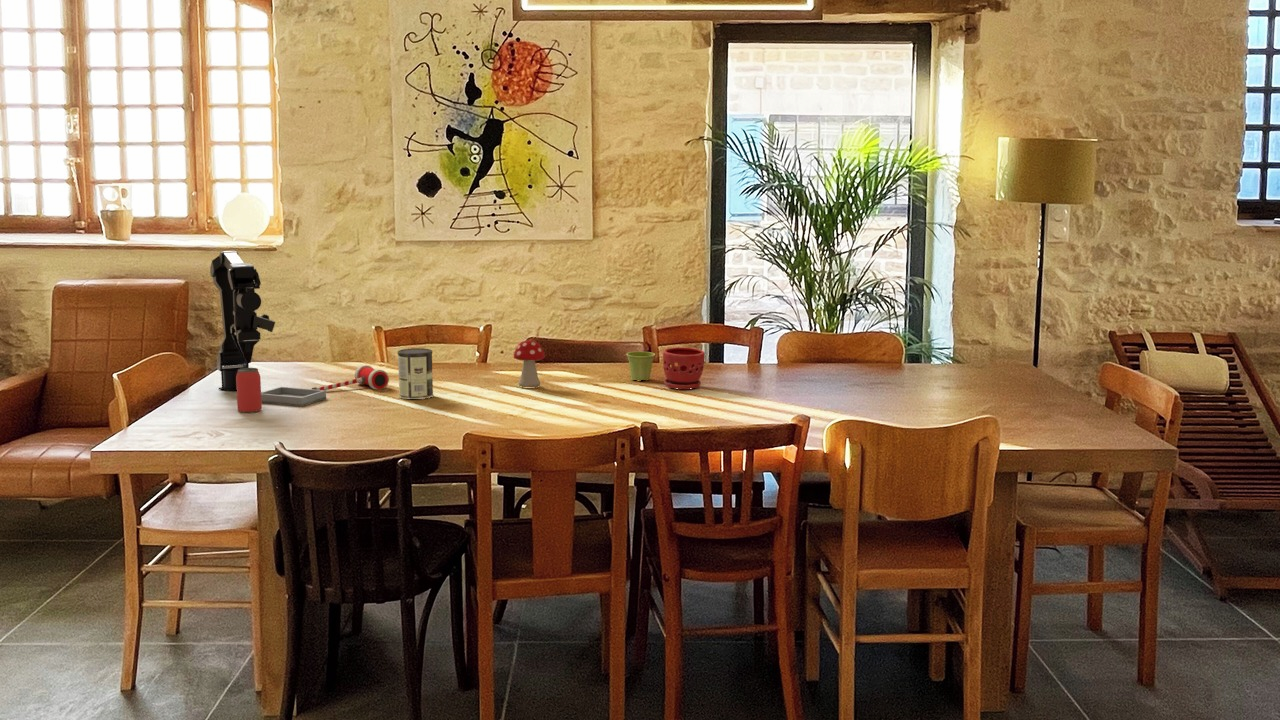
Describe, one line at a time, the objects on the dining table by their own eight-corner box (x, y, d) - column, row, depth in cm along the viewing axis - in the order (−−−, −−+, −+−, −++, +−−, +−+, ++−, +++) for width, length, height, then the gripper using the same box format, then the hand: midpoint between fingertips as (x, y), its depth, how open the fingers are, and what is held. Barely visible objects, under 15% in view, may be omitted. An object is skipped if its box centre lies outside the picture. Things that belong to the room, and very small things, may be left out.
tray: (256, 402, 377) (256, 393, 376) (281, 394, 388) (280, 386, 387) (302, 406, 371) (302, 397, 371) (326, 398, 382) (325, 390, 382)
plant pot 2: (656, 389, 400) (656, 351, 398) (671, 382, 412) (671, 345, 410) (695, 393, 396) (696, 354, 394) (709, 385, 408) (710, 348, 406)
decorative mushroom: (547, 385, 406) (547, 338, 404) (542, 390, 398) (542, 342, 396) (516, 384, 407) (516, 337, 405) (511, 389, 399) (510, 341, 396)
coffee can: (419, 392, 394) (418, 346, 391) (440, 396, 387) (439, 350, 384) (391, 396, 386) (390, 350, 384) (412, 401, 379) (411, 354, 377)
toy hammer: (320, 397, 386) (320, 376, 385) (305, 391, 395) (304, 370, 394) (389, 389, 400) (389, 369, 399) (373, 383, 409) (372, 363, 408)
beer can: (266, 409, 366) (264, 368, 364) (252, 414, 360) (250, 372, 358) (247, 407, 368) (245, 366, 366) (232, 412, 362) (230, 370, 360)
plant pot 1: (660, 379, 418) (660, 353, 416) (644, 383, 410) (645, 357, 408) (636, 376, 423) (636, 350, 421) (620, 380, 415) (620, 354, 413)
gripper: (277, 310, 368) (279, 363, 370) (267, 303, 385) (269, 354, 387) (237, 311, 364) (239, 366, 366) (229, 305, 380) (231, 357, 383)
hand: (246, 360), depth 376 cm, fingers open, 9 cm apart
